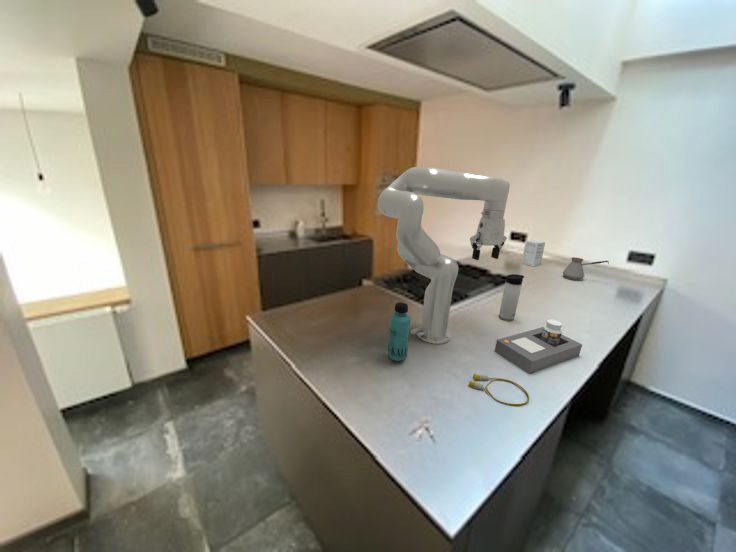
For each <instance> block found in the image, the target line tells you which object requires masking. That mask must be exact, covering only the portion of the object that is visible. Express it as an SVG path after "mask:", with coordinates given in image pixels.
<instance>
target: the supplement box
mask: <svg viewBox="0 0 736 552" xmlns="http://www.w3.org/2000/svg"><path fill="white" fill-rule="evenodd" d="M523 247H524V248H523V253H522V258H521V263H520V264H523V265H526V266H530V267H538V266H541V264H542V260H543V257H544V256H543V255H544V250H545V247H546V242H545V241H540V240H537V239H530V240H529V239H528V240H525V243H524V246H523Z"/></svg>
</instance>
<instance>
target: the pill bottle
mask: <svg viewBox="0 0 736 552" xmlns="http://www.w3.org/2000/svg"><path fill="white" fill-rule="evenodd" d="M562 327H563V323H562V322H560V321H559V320H556V319H547V320H546V325H544V326H543V331H542V335H541V339H540V340H542V341H544V342H546V343H548V344H549V345H551V346H553V347H556V346H558V344H559V341H560V337H561V334H562V333H563V331H562ZM562 335H563V334H562Z"/></svg>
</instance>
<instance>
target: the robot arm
mask: <svg viewBox="0 0 736 552" xmlns="http://www.w3.org/2000/svg"><path fill="white" fill-rule="evenodd" d="M510 186H511V183H510V182H509V181H507V180H505V179H503V178H497V177H491V176H484V175H478V174H474V173H473V174H472V173H467V172H461V171H454V170H450V169H449V170H448V169H443V168H438V167H433V166H414V167H410V168H407V170H405V171H404V172H403V173H402V174H400V175H399V176H398V177H397V178H396V179H395V180H394V181H393V182H392V183H390V184H389V185H388V186H387V187H386V188H385V189H383V190H382V192H381V193H380V195H379V197H378V199H377V208H378V211H379V212H380V213H381V214H383V216H385V217H389V218H393V219H397V225H396V232H395V233H396V234H395V237H396V242H397V245H396V250H397V254H398V256H399V257H400V258H401V260H403V261H404V262H405V263H406V264H407V265H408V266H409V267H410V268H411V269H412V270H414V271H415V272H416V273H417V274H419V275H422V276H423V277H426V278H427V279H430V283H429V284H428V286H427V287H426V288H425V291H424V297H423V298H424V301H423V308H422V319H421V323H419V325H418V327H416V328H412V329H409V333H410V334H411V335H416V336H417V337H418V338H419V339H420V340H422V341H423V342H426V343H429V344H433V345H441V344H445V343H447V342H449V341H450V340H451V333H450V332H449V331H448V324H449V317H450V309H451V304H452V303H451V302H452V295H453V290H454V285H455V283H456V279H457V277H458V273H459V264H458V263H457V262H456V260H454V259H453V258H452V257H449V256H448V255H444V254H441V251H440V248H439V245H438V244H437V243H436V242H435V241H434V240H433V239H432V238H431V237H430V236H429V235H428V233H427V232H426V231H425V229H424V228H423V227H422V220H423V214H424V210H425V209H424V208H425V207H424V206H425V205H424V202H423V199H422V197H421V196H426V197H435V198H444V199H452V200H453V199H454V200H461V201H464V200H465V201H469V200H470V201H471V200H472V201H481V202H484V203H483V208H482V209H483V210H482V211H481V217H480V219H479V221H478V222H479V223H478V225H477V229H476V233H475V234H474V235H473V236H471V237H470V238H469V242H470V246H471V248H472V249H473V250H472V255H471V259H473V260H475V261H479V260H480V255H481V248H482V247H483V246H485V247H486V246H487V247H488V246H493V247H492V251H491V255H490V257H491V258H492V259H496V260H499V255H500V251H501V249H502V248H503V246H504V245H505V243H506V241H507V239H508V237H507V236H506V235H505V230H506V229H505V228H506V220H505V218H504V216H505V212H506V208H507V207H506V206H507V202H508V196H509V193H510Z"/></svg>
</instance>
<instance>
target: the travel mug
mask: <svg viewBox="0 0 736 552" xmlns="http://www.w3.org/2000/svg"><path fill="white" fill-rule="evenodd" d="M524 278H525V276H524V275H522V274H517V273H516V274H515V273H514V274H507V276H506V279H505V283H504V288H503V293H502V298H501V301H500V302H501V303H500V309H499V314H498V317H499V319H500V320H502V321H504V322H505V321H506V322H513V321H514V320H515V318H516V317H515V316H516V312H517V308H518V305H519V304H518V303H519V298H520V294H521V290H522V285H523V280H524Z"/></svg>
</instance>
